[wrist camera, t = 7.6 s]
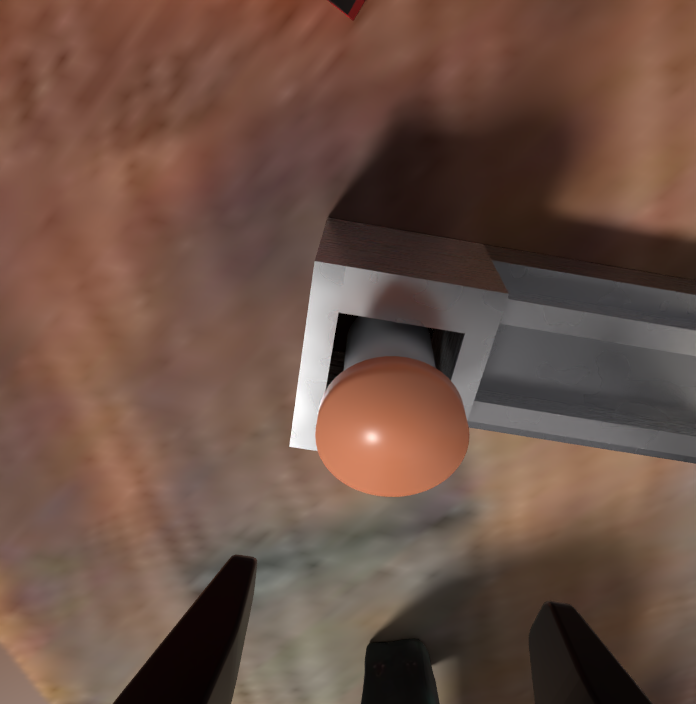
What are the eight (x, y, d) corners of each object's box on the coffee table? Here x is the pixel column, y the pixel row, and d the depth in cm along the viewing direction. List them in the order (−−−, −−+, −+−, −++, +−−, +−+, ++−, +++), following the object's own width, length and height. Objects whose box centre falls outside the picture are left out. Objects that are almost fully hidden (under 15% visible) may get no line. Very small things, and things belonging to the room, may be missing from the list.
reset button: (460, 300, 16) (487, 388, 12) (432, 399, 18) (447, 506, 14) (340, 280, 16) (326, 362, 12) (323, 382, 18) (306, 484, 14)
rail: (1058, 342, 18) (1239, 422, 14) (936, 479, 21) (1059, 575, 17) (327, 217, 17) (313, 266, 14) (304, 377, 20) (287, 455, 16)
